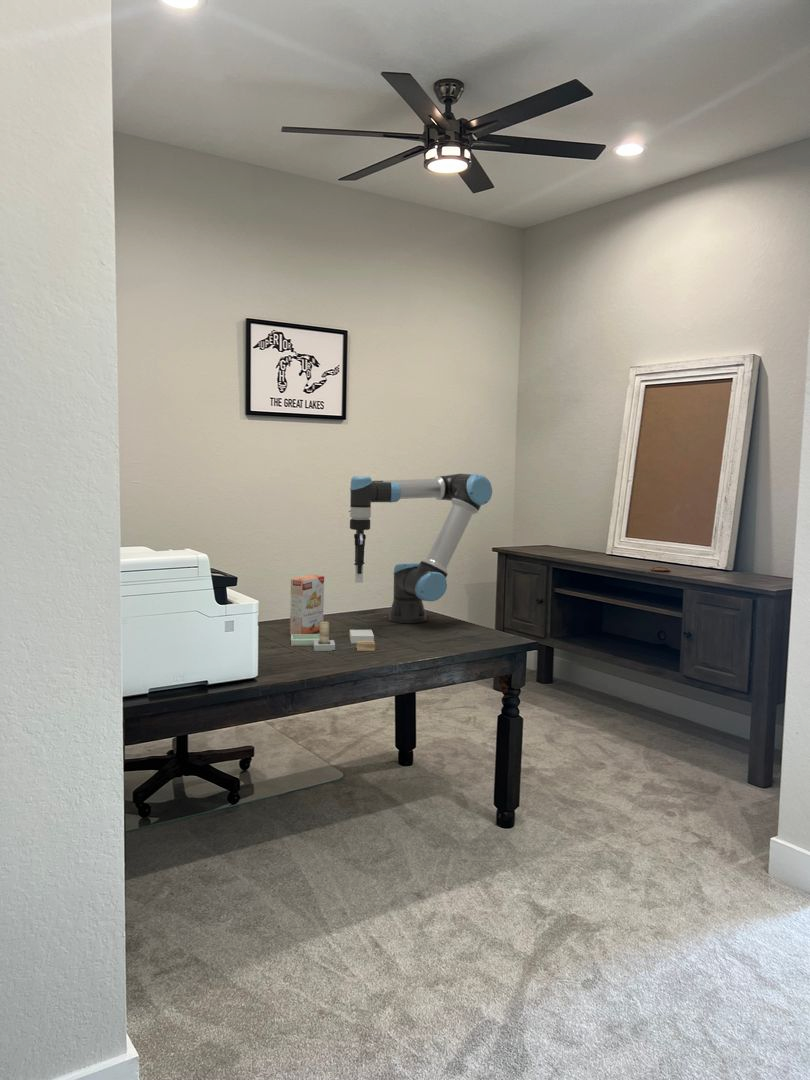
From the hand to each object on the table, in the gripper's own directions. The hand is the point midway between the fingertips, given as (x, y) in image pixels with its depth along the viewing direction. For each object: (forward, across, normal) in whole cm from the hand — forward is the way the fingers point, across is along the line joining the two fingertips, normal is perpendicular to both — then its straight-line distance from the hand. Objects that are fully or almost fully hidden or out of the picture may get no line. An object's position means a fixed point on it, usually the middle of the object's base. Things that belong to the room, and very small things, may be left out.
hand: (358, 582), depth 289 cm
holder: (+19, +22, -14) cm, 32 cm away
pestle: (+19, +22, -14) cm, 32 cm away
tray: (+19, +13, -19) cm, 30 cm away
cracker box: (+20, -3, -19) cm, 27 cm away
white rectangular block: (+20, +10, 0) cm, 22 cm away
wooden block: (+19, +24, 0) cm, 31 cm away
